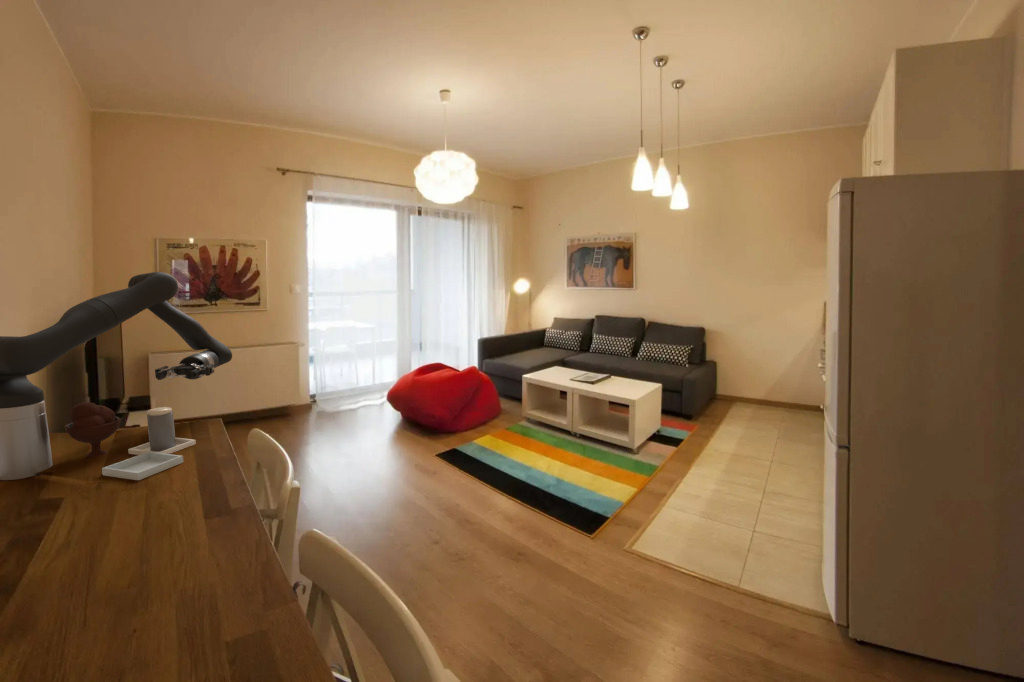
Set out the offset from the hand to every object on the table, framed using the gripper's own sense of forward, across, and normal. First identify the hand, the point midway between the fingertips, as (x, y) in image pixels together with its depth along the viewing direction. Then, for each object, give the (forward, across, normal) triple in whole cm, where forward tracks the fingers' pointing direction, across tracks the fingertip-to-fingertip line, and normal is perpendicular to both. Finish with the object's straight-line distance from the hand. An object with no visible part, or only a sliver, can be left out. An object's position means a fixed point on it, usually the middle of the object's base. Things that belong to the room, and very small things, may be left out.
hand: (175, 375), depth 132 cm
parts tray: (+11, 0, +19) cm, 22 cm away
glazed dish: (+26, +2, +19) cm, 32 cm away
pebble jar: (+11, 0, +18) cm, 21 cm away
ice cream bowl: (+11, -15, +19) cm, 27 cm away
